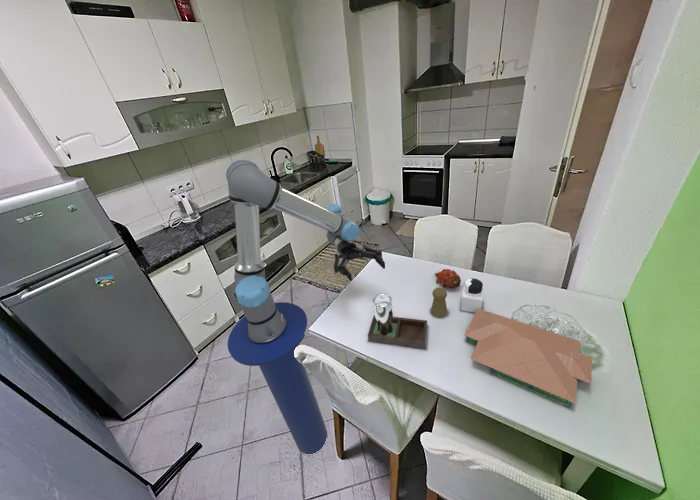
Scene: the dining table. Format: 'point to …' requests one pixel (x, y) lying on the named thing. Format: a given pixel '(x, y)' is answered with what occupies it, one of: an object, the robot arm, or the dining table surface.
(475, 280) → the medicine bottle
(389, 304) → the beer glass
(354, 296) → the dining table surface
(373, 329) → the caddy
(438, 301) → the salt shaker
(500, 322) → the house
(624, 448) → the dining table surface
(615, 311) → the dining table surface
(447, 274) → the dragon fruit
